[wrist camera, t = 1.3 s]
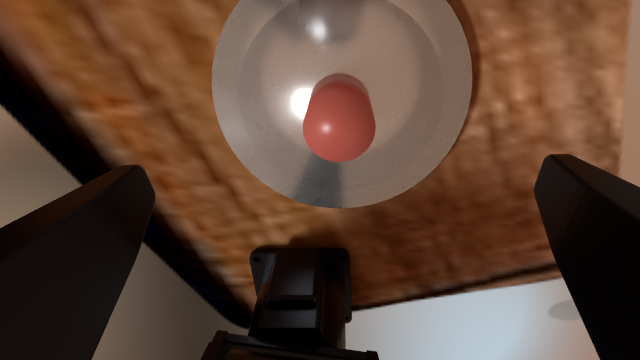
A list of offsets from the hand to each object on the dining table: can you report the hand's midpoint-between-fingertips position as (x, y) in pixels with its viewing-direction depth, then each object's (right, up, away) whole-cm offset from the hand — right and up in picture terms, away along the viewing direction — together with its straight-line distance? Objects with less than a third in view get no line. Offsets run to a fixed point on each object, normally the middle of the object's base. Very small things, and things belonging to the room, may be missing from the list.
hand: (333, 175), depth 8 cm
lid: (+1, +4, +11) cm, 12 cm away
